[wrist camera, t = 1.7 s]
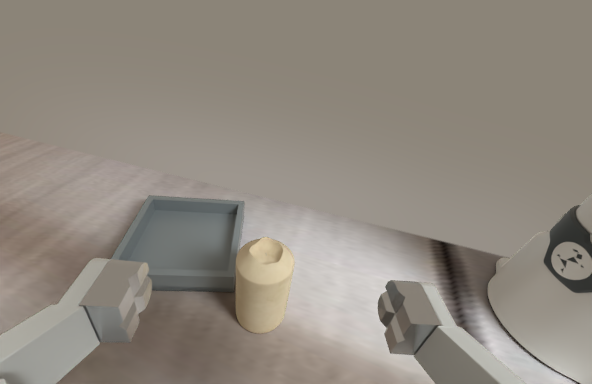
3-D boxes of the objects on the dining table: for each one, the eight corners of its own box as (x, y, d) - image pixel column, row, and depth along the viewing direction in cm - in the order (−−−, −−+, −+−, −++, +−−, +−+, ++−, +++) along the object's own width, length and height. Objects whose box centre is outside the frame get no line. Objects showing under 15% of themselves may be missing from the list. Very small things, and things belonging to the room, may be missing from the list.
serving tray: (244, 215, 44) (244, 201, 42) (233, 292, 33) (233, 277, 31) (152, 210, 42) (148, 195, 40) (109, 289, 31) (101, 273, 29)
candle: (234, 336, 29) (234, 274, 23) (236, 289, 33) (237, 227, 27) (287, 332, 30) (300, 273, 24) (282, 287, 34) (292, 228, 28)
